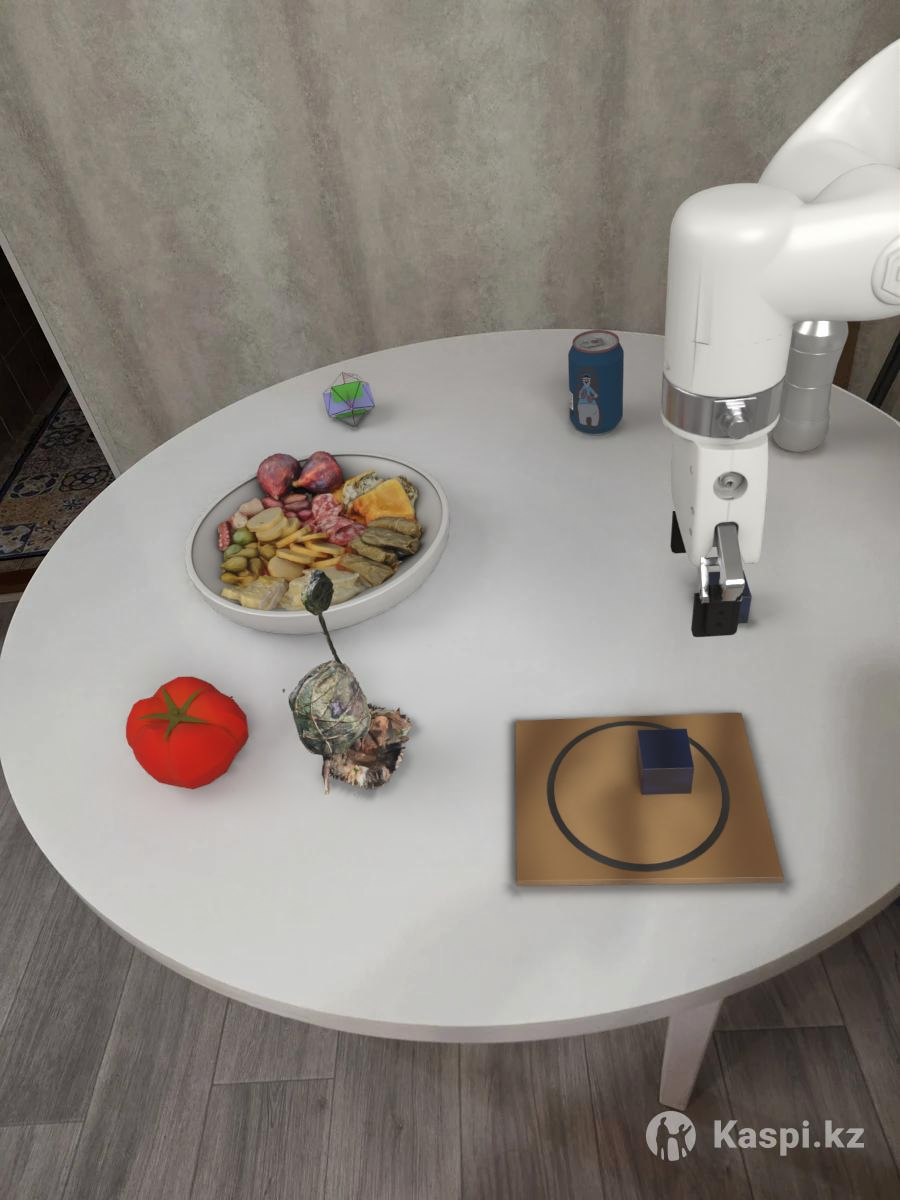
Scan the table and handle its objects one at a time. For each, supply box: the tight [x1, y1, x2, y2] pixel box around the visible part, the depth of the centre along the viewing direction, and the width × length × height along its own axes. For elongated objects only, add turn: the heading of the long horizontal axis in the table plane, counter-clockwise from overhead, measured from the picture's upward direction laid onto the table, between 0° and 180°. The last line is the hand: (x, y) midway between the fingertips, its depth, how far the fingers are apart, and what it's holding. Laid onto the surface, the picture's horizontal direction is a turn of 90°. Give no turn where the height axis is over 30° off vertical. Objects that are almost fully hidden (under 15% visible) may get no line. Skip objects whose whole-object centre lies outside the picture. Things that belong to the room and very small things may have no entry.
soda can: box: [567, 329, 625, 436], centre depth 112 cm, size 7×7×12 cm
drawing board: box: [515, 712, 784, 887], centre depth 72 cm, size 20×16×1 cm
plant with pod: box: [281, 569, 414, 796], centre depth 72 cm, size 8×11×20 cm
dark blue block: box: [709, 569, 753, 624], centre depth 86 cm, size 4×4×4 cm
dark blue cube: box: [636, 729, 694, 795], centre depth 71 cm, size 4×4×4 cm
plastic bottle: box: [771, 321, 849, 453], centre depth 100 cm, size 6×7×20 cm
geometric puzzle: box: [321, 371, 376, 429], centre depth 122 cm, size 7×7×8 cm
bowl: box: [184, 450, 451, 635], centre depth 98 cm, size 30×30×8 cm
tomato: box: [125, 676, 250, 790], centre depth 79 cm, size 10×11×6 cm
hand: (701, 589), depth 68 cm, fingers open, 9 cm apart
